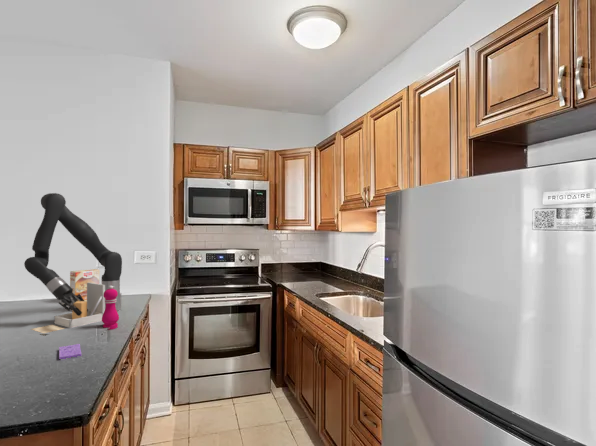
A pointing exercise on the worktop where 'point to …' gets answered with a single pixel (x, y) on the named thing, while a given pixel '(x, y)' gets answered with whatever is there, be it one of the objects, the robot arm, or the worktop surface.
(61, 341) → the worktop surface
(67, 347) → the sponges
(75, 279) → the coffeecake box
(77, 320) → the equipment case
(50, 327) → the board
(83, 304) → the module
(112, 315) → the pepper mill
